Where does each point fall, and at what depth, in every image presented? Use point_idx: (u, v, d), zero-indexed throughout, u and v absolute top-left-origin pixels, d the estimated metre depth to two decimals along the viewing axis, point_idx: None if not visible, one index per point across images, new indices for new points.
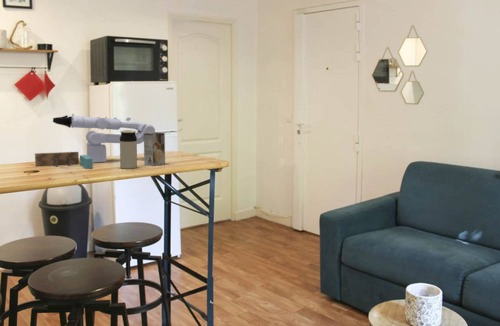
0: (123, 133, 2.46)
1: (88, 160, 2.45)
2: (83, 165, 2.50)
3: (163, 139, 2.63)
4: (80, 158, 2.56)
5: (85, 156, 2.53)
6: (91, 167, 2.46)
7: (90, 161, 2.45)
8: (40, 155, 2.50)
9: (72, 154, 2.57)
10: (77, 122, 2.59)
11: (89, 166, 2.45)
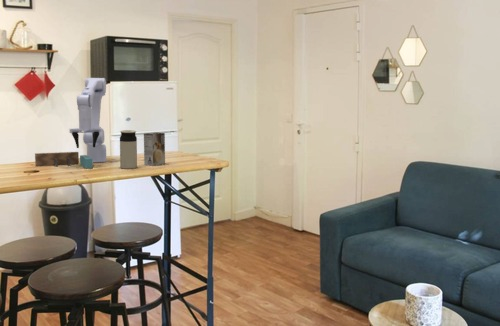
0: (123, 133, 2.46)
1: (88, 160, 2.45)
2: (83, 165, 2.50)
3: (163, 139, 2.63)
4: (80, 158, 2.56)
5: (85, 156, 2.53)
6: (91, 167, 2.46)
7: (90, 161, 2.45)
8: (40, 155, 2.50)
9: (72, 154, 2.57)
10: None
11: (89, 166, 2.45)
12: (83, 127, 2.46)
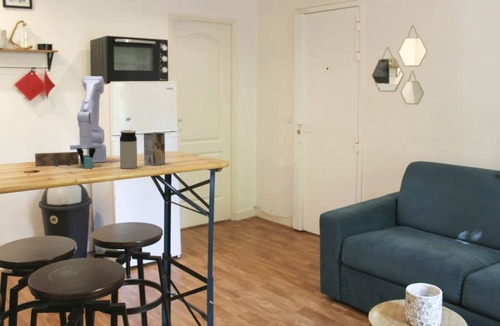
0: (123, 133, 2.46)
1: (88, 160, 2.45)
2: (83, 165, 2.50)
3: (163, 139, 2.63)
4: None
5: (85, 156, 2.53)
6: (91, 167, 2.46)
7: (90, 161, 2.45)
8: (40, 155, 2.50)
9: (72, 154, 2.57)
10: None
11: (89, 165, 2.45)
12: (83, 144, 2.47)
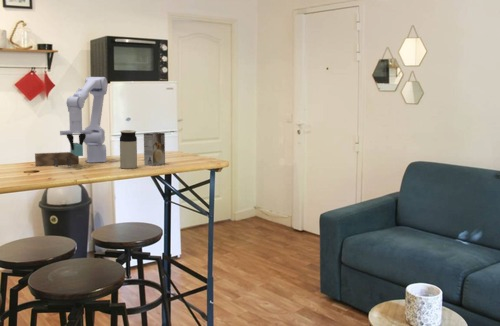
0: (123, 133, 2.46)
1: (78, 147, 2.42)
2: (73, 152, 2.48)
3: (163, 139, 2.63)
4: (70, 146, 2.53)
5: (75, 143, 2.50)
6: (81, 154, 2.43)
7: (80, 147, 2.43)
8: (40, 155, 2.50)
9: (72, 154, 2.57)
10: None
11: (79, 152, 2.43)
12: (74, 129, 2.45)
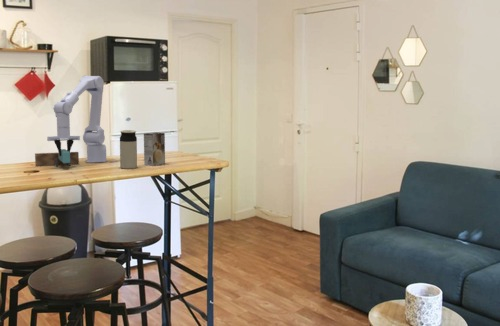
0: (123, 133, 2.46)
1: (65, 153, 2.40)
2: (61, 159, 2.46)
3: (163, 139, 2.63)
4: (58, 152, 2.52)
5: (63, 150, 2.48)
6: (69, 161, 2.41)
7: (67, 154, 2.41)
8: (40, 155, 2.50)
9: (72, 154, 2.57)
10: None
11: (66, 159, 2.41)
12: (61, 135, 2.43)
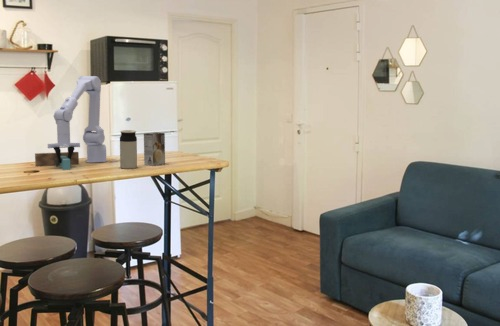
0: (123, 133, 2.46)
1: (66, 161, 2.41)
2: (61, 166, 2.46)
3: (163, 139, 2.63)
4: None
5: (63, 157, 2.49)
6: (69, 168, 2.42)
7: (68, 162, 2.41)
8: (40, 155, 2.50)
9: (72, 154, 2.57)
10: None
11: (66, 167, 2.41)
12: (61, 142, 2.43)
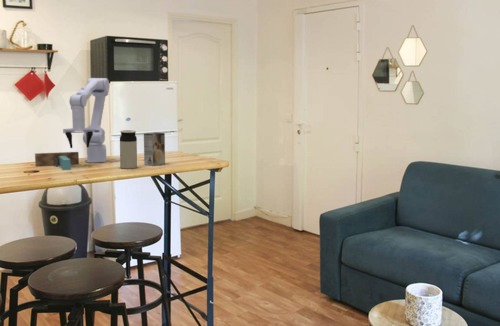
0: (123, 133, 2.46)
1: (66, 161, 2.41)
2: (61, 166, 2.46)
3: (163, 139, 2.63)
4: (59, 159, 2.52)
5: (63, 157, 2.49)
6: (69, 168, 2.42)
7: (68, 162, 2.41)
8: (40, 155, 2.50)
9: (72, 154, 2.57)
10: None
11: (66, 167, 2.41)
12: (76, 127, 2.47)
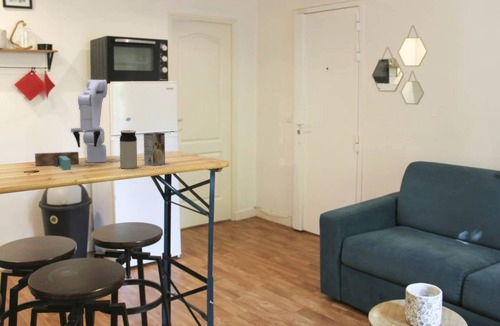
0: (123, 133, 2.46)
1: (66, 161, 2.41)
2: (61, 166, 2.46)
3: (163, 139, 2.63)
4: (59, 159, 2.52)
5: (64, 157, 2.49)
6: (69, 168, 2.42)
7: (68, 162, 2.41)
8: (40, 155, 2.50)
9: (72, 154, 2.57)
10: None
11: (66, 167, 2.41)
12: (84, 127, 2.49)
